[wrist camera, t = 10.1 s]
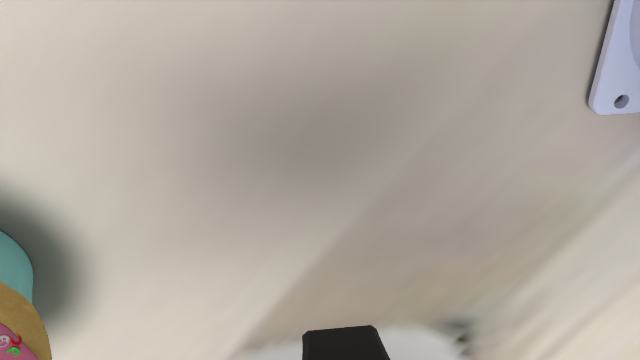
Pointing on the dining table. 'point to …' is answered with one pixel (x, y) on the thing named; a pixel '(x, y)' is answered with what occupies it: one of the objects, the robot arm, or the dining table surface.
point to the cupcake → (19, 307)
